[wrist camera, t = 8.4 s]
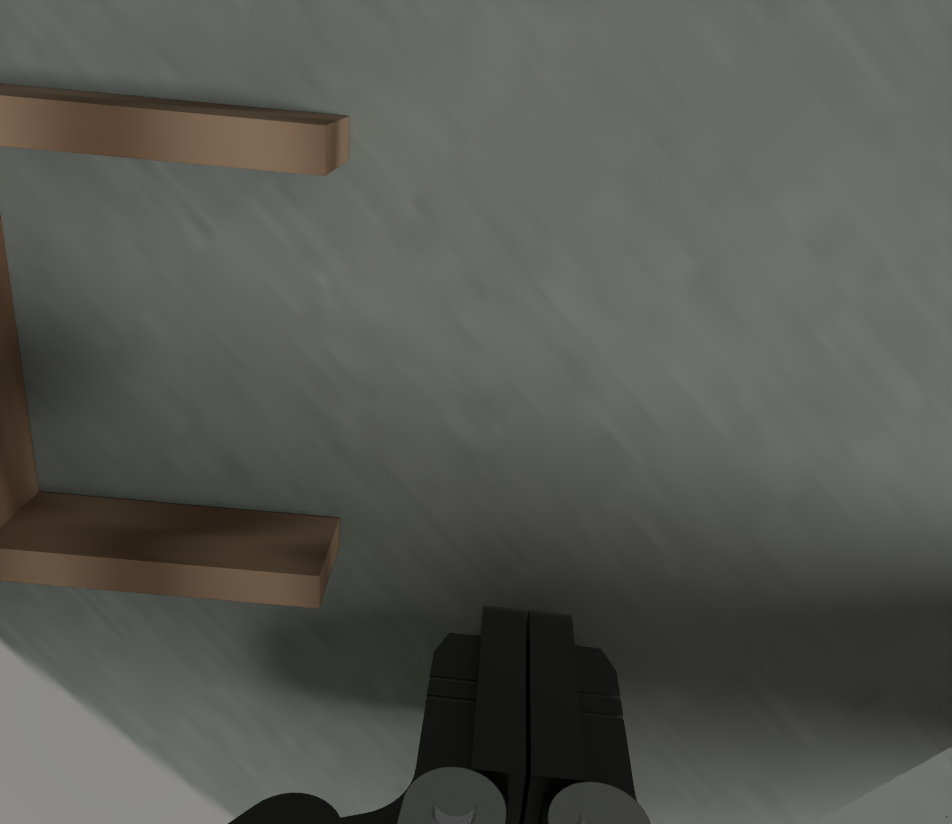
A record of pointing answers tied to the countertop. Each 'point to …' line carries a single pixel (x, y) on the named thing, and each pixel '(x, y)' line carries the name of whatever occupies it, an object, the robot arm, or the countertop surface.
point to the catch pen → (142, 522)
